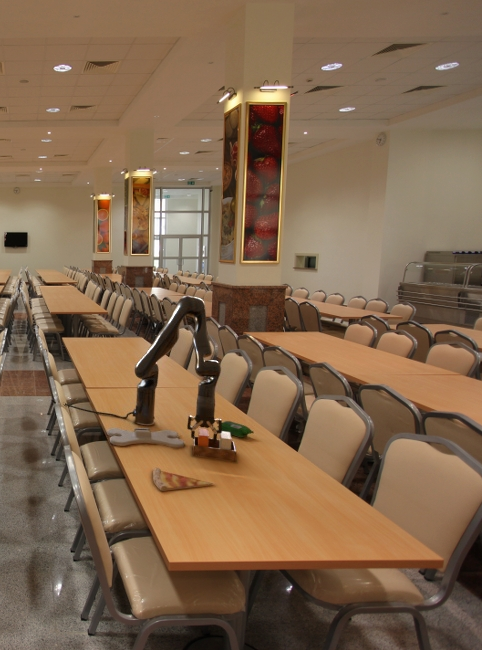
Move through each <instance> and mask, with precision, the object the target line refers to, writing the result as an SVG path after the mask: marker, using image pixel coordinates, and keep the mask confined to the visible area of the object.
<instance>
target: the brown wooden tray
mask: <svg viewBox="0 0 482 650" xmlns="http://www.w3.org/2000/svg"><path fill="white" fill-rule="evenodd" d="M219 441H220V438H219V439H218V438H217V440H216V441H215V442H213V437H209V442H208V447H204V446H198V435H195V437H194V439H193V438H192V456H194V457H202V458H208V459H215V460H221V461H222V460H223V461H230V462H236V459H237V458H236V457H237V449H236V444H235V441H233V440H231V450H226V449H219Z"/></svg>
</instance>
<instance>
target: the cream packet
mask: <svg viewBox="0 0 482 650" xmlns="http://www.w3.org/2000/svg"><path fill="white" fill-rule="evenodd" d="M219 439H220V441H219V449H226V450H231V441H232V435H231V434H230V432H224V431H222V433H219Z"/></svg>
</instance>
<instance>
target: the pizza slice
mask: <svg viewBox="0 0 482 650" xmlns="http://www.w3.org/2000/svg"><path fill="white" fill-rule="evenodd" d="M152 481H153V483H154V485H155V486H156V488H157V489H158V490H159V491H160V492H165V491H172V490H174V491H175V490H182V489H191V488H199V487H200V488H201V487H209V486H213V485H214V483H213V482H209V481H204V480H201V479H197V478H192V477H189V476H184V475H180V474H176V473H171V472H167V471H164V470H161V468H159V467H155V468H154V469H153V472H152Z"/></svg>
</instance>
